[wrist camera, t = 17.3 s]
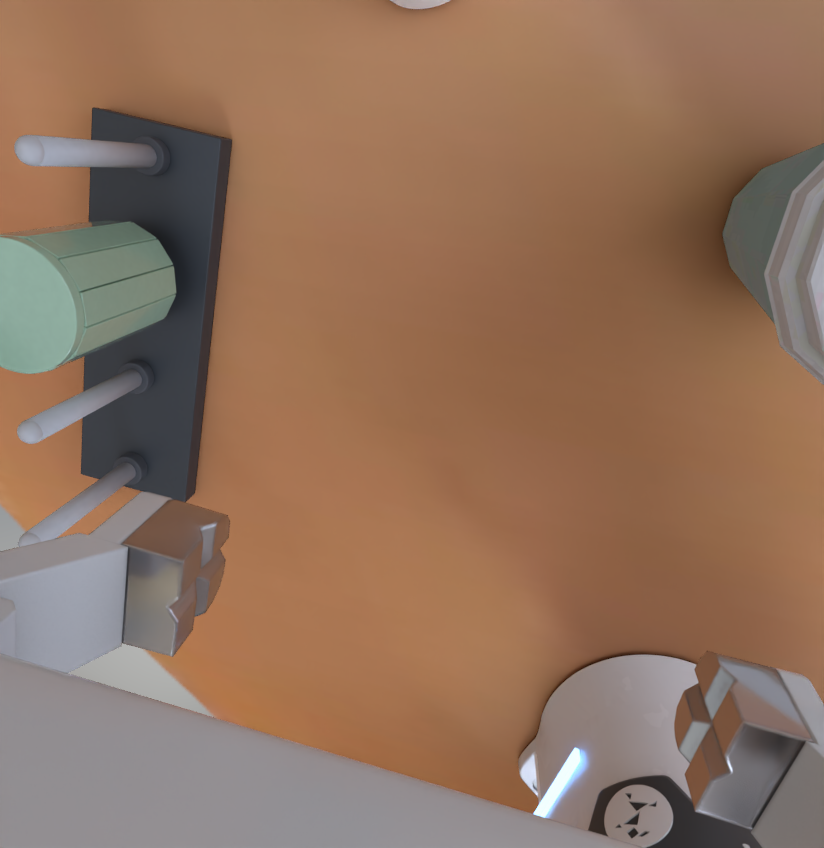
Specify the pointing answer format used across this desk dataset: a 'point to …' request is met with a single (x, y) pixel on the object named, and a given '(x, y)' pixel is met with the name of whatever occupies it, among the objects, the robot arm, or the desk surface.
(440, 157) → the desk surface
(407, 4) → the can
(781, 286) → the disposable coffee cup
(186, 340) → the dish rack
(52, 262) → the cup
